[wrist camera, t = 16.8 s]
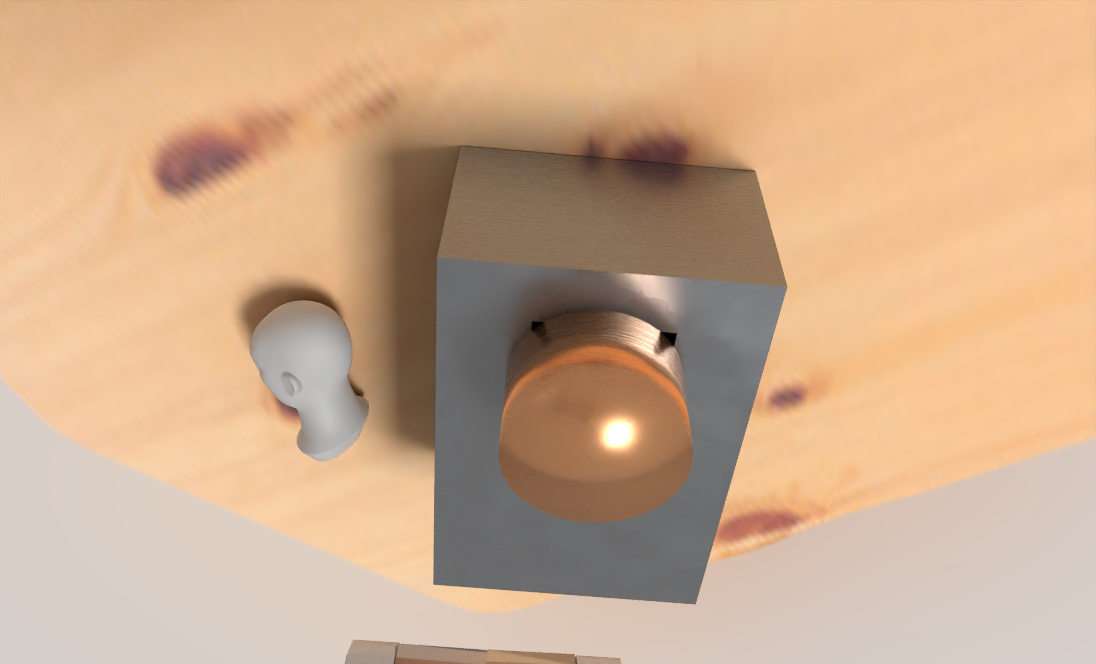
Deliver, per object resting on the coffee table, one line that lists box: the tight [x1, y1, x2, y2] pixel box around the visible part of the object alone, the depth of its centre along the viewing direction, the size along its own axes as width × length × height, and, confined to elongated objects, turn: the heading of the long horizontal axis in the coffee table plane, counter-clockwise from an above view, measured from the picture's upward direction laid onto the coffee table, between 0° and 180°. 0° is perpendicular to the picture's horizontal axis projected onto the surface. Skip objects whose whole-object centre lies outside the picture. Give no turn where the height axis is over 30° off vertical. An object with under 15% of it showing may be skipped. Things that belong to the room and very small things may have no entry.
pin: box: [499, 310, 693, 523], centre depth 37 cm, size 7×7×11 cm
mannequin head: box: [250, 300, 369, 461], centre depth 45 cm, size 4×8×5 cm
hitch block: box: [433, 146, 787, 604], centre depth 42 cm, size 12×18×8 cm, turn 176°
